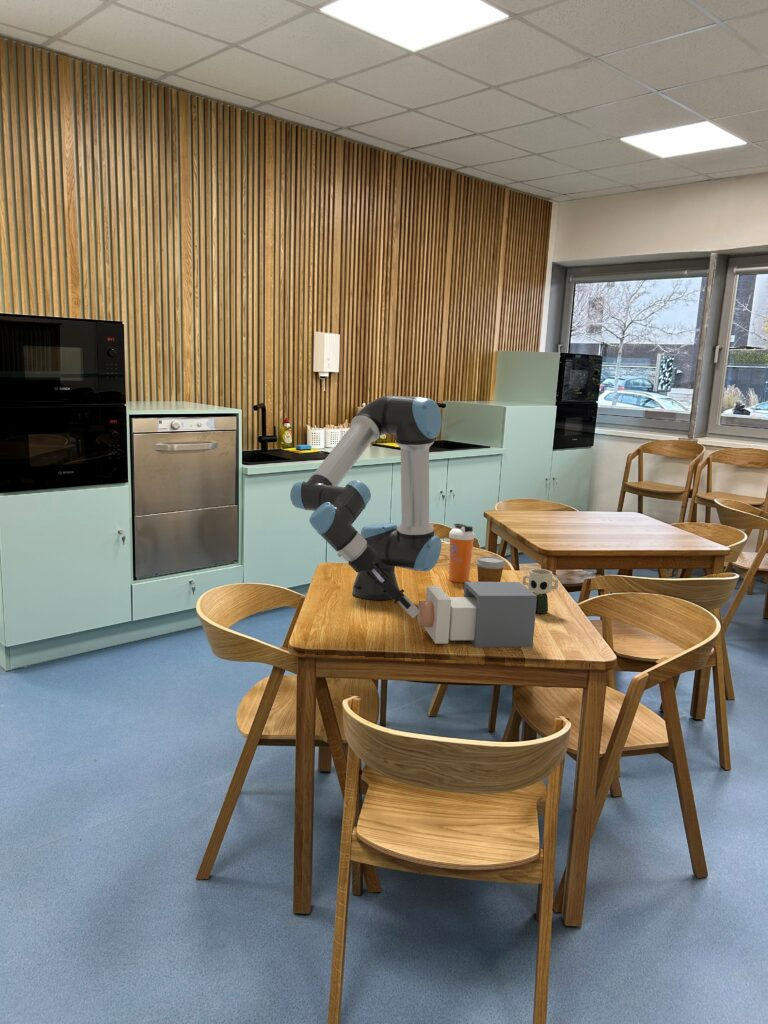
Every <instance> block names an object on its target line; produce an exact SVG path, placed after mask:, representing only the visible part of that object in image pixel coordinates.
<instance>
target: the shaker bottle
mask: <svg viewBox="0 0 768 1024" xmlns="http://www.w3.org/2000/svg"><path fill="white" fill-rule="evenodd" d="M453 526H454V528H452V529H450V531H449V533H448V534H449V535H448V537H449V555H448V556H449V559H448V561H449V562H448V581H450V582H453V583H459V584H462V583H464V584H465V582H470V574H471V573H470V571H471V564H472V558H473V557H472V555H473V550H474V549H473V547H474V540H475V535H476V533H475V532H474V528H473V526H471V525H466V524H463V523H454V524H453Z"/></svg>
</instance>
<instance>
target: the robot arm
mask: <svg viewBox="0 0 768 1024" xmlns="http://www.w3.org/2000/svg"><path fill="white" fill-rule="evenodd" d="M442 422H443V418H442V413H441V410H440V407H439V405H438V404H437V402H436V401H435V400H433V399H432V398H428V397H423V396H409V395H408V396H407V395H406V396H405V395H403V396H402V395H384V396H381V397H378V398H376V399H373V400H372V401H370V402H369V403H368V404H366V405H365V406H364V407H362V408H361V409H360V410H359V411H358V412H357V413H356V415H354V417H353V418H352V419H351V422H350V427H349V428H348V430H347V431H346V432H345V433H344V434H343V436H342V437H341V439H340V440H338V442H337V444H336V445H335V446H334V447H333V449H332V450H331V451H330V452H329V454H328V455H327V456H326V457H325V459H324V460H323V461H322V462H321V463H320V465H319V466H317V467H318V468H317V469H316V470H315V471H314V472H313V473H312V475H311V476H310V478H309V479H308V480H307V481H305V480H304V481H297V482H295V483H294V484H293V485H292V486H291V489H290V495H289V497H290V501H291V504H292V505H293V506H294V507H295V508H298V509H301V510H305V511H313V512H312V513H311V515H310V517H309V521H308V522H309V524H310V525H311V526H312V528H313V529H315V531H316V532H317V534H318V535H320V536H321V537H322V538H323V539H324V541H326V542H327V543H328V544H329V545H330V546H331V548H332V549H334V550H335V552H336V553H337V557H338V558H340V557H342V558H343V560H345V562H348V565H349V566H350V567H351V568H352V569H353V570H354V572H356V573H357V574H356V577H355V580H354V582H353V584H352V594H353V595H354V596H355V597H358V598H359V599H365V600H373V601H385V600H386V601H387V600H388V601H389V600H392V599H393V600H394V601H393V602H394V604H397V603H398V605H399V606H400V607H401V608H402V609H403V610H404V611H405V612H406V613H407V614H408V615H409V616H410V617H411V618H412V619H414V618H415V617H416V616H417V614H418V613H419V612H420V610H419V609H418V606H416V605H415V604H414V603H413V602H412V601H411V599H409V598H408V597H407V595H406V594H405V589H403V588H402V589H401V590H400V587H399V584H398V580H397V577H396V573H395V571H396V570H395V569H396V568H400V569H401V568H402V569H406V570H412V571H415V572H424V573H426V572H429V571H431V570H433V569H434V567H435V566H436V564H437V563H438V561H439V559H440V555H441V554H442V553H441V552H442V540H441V538H440V537H439V536H438V535H435V527H434V525H432V524H431V523H430V447H431V446H432V445H433V444H434V443H435V439H436V438H437V437H438V436H439V435H440V433H441V428H442V425H443V424H442ZM383 435H394V436H395V444H396V445H397V446H398V447H399V449H400V495H401V496H400V497H401V499H400V500H401V501H400V502H401V503H400V504H401V505H400V506H401V507H400V508H401V511H400V512H401V523H400V524H398V525H397V524H396V523H390V522H389V523H388V522H387V523H386V522H384V523H383V522H382V523H373V524H366V525H364V526H363V527H361V530H360V532H359V531H358V530H357V529H356V528H355V527H354V526H353V524H354V523H355V521H356V520H357V518H358V517H359V516H360V514H361V513H362V512H363V511H364V510H365V509H366V507H367V505H368V503H369V502H370V500H371V497H372V494H371V490H370V488H369V486H368V485H366V484H365V483H363V482H362V481H361V480H357V479H353V480H351V481H349V482H348V483H347V484H346V485H345V486H339V485H340V483H341V482H342V481H343V479H344V478H345V477H346V476H347V475H348V473H349V472H350V470H351V469H352V467H354V465H355V464H356V463H357V461H358V460H359V459H360V457H361V456H362V454H364V452H365V451H366V449H367V448H368V446H369V445H370V444H371V443H374V442H376V441H377V440H378V439H379V438H380V437H381V436H383Z"/></svg>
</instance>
